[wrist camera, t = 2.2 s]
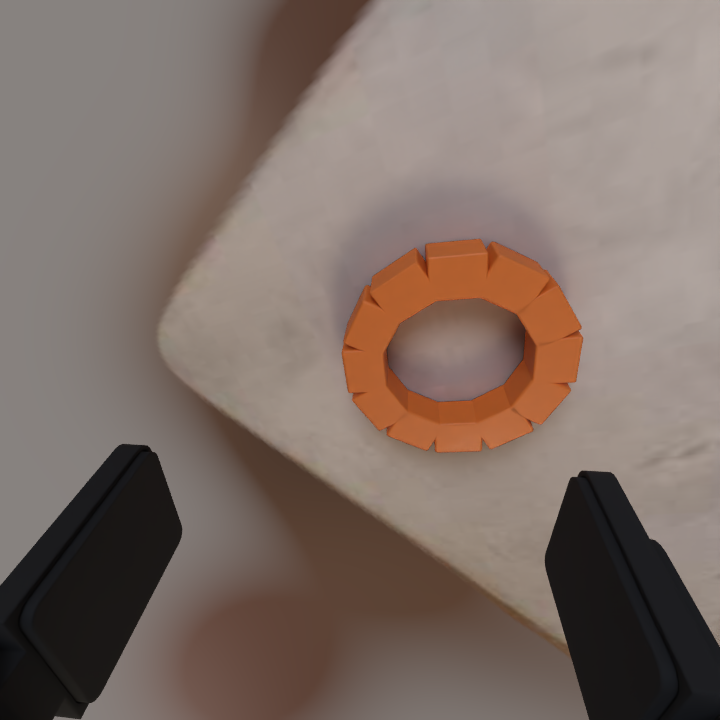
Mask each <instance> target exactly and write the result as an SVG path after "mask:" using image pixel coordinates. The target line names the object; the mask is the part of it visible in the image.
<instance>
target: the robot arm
mask: <svg viewBox="0 0 720 720" xmlns="http://www.w3.org/2000/svg"><path fill="white" fill-rule="evenodd" d="M181 535H182V525H181V522H180V520H179V517H178V514H177V511H176V508H175V505H174V502H173V499H172V496H171V493H170V491H169V488H168V485H167V482H166V479H165V476H164V473H163V470H162V467H161V465H160V461H159V459H158V456H157V454H156V453H155V452H152V451H151V449H150V447H148V446H145V445H130V444H122V445H119V446H118V447H117V448H116V449H115V450H114V451H113V452H112V453H111V455H110V456H109V457H108V458H107V459H106V461H105V462H104V463H103V464H102V465H101V467H100V468H99V469H98V470H97V471H96V473H95V474H94V475H93V476H92V477H91V479H90V480H89V481H88V482H87V483H86V484H85V486H84V487H83V488H82V489H81V490H80V492H79V493H78V494H77V495H76V496H75V498H74V499H73V500H72V501H71V502H70V503H69V505H68V506H67V507H66V508H65V509H64V511H63V512H62V513H61V514H60V515H59V517H58V518H57V519H56V520H55V521H54V523H53V524H52V525H51V526H50V527H49V528H48V530H47V531H46V532H45V533H44V534H43V536H42V537H41V538H40V539H39V540H38V541H37V543H36V544H35V545H34V546H33V547H32V549H31V550H30V551H29V552H28V553H27V555H26V556H25V557H24V558H23V559H22V560H21V562H20V563H19V564H18V565H17V566H16V568H15V569H14V570H13V571H12V572H11V574H10V575H9V576H8V577H7V578H6V580H5V581H4V582H3V583H2V584H1V585H0V720H53V718H54V716H58V717H67V718H75V719H81V718H82V716H83V714H84V712H85V710H86V708H87V706H88V704H89V703H92V702H94V701H95V700H96V699H97V698H98V697H99V695H100V694H101V692H102V690H103V689H104V687H105V685H106V683H107V681H108V679H109V677H110V675H111V673H112V671H113V669H114V667H115V666H116V664H117V662H118V660H119V658H120V656H121V654H122V652H123V650H124V648H125V646H126V644H127V643H128V641H129V639H130V637H131V635H132V633H133V631H134V629H135V627H136V625H137V623H138V621H139V619H140V617H141V616H142V613H143V612H144V610H145V608H146V606H147V604H148V602H149V600H150V598H151V596H152V594H153V592H154V590H155V589H156V587H157V585H158V583H159V581H160V579H161V577H162V575H163V573H164V571H165V569H166V567H167V565H168V563H169V562H170V560H171V558H172V556H173V554H174V552H175V550H176V548H177V546H178V544H179V542H180V539H181ZM545 567H546V572H547V575H548V579H549V582H550V586H551V589H552V593H553V596H554V600H555V603H556V606H557V610H558V613H559V617H560V620H561V624H562V627H563V631H564V634H565V638H566V641H567V644H568V648H569V651H570V655H571V658H572V662H573V665H574V668H575V672H576V675H577V679H578V682H579V686H580V689H581V692H582V696H583V700H584V703H585V706H586V710H587V713H588V717H589V720H720V647H719V645H718V643H717V642H716V640H715V638H714V636H713V635H712V633H711V631H710V629H709V627H708V626H707V624H706V622H705V620H704V619H703V617H702V615H701V613H700V612H699V610H698V608H697V606H696V605H695V603H694V601H693V599H692V597H691V596H690V594H689V592H688V590H687V589H686V587H685V585H684V583H683V582H682V580H681V578H680V576H679V575H678V573H677V571H676V569H675V567H674V566H673V564H672V562H671V560H670V559H669V557H668V555H667V553H666V552H665V550H664V549H663V548H662V546H661V545H660V544H659V543H658V542H656V541H655V540H652V539H649V537H648V535H647V533H646V532H645V530H644V528H643V526H642V524H641V522H640V521H639V519H638V517H637V515H636V513H635V511H634V510H633V508H632V506H631V504H630V502H629V500H628V499H627V497H626V495H625V493H624V491H623V489H622V488H621V486H620V484H619V482H618V480H617V478H616V477H615V476H614V474H612V473H611V472H598V471H581V472H580V473H579V475H578V477H572V478H570V481H569V483H568V486H567V489H566V493H565V496H564V499H563V502H562V505H561V508H560V511H559V514H558V517H557V520H556V523H555V526H554V529H553V532H552V535H551V538H550V541H549V544H548V547H547V551H546V554H545Z"/></svg>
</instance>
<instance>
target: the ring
mask: <svg viewBox="0 0 720 720" xmlns="http://www.w3.org/2000/svg"><path fill="white" fill-rule="evenodd" d="M425 252H426V261H425V260H424V259H423V257H422V256H421V254H420V253H419V251H418V250H417V249H416V248H414V249H412V250H411V251H410V252H408V253H407V254H405V255H404V256H402V257H401V258H399V259H398V260H396V261H395V262H393V263H392V264H390V265H389V266H387V267H386V268H384V269H383V270H381V271H380V272H379V273H377V274H376V275H374V276H373V277H372V283H371V286H369V285H366V286H365V287H364V289H363V292H362V294H361V296H360V298H359V300H358V302H357V304H356V307H355V309H354V311H353V313H352V315H351V317H350V320H349V322H348V324H347V328H346V332H345V336H344V340H343V341H344V345H343V349H342V358H343V364H344V370H345V376H346V382H347V388H348V392H349V393H353V398H352V401H353V402H354V403H355V404H356V405H357V407H358V408H359V409H360V410H361V411H362V412H363V413H364V414H365V415H366V416H367V418H368V419H369V420H370V421H371V422H372V423H373V424H374V425H375V426H376V428H377V429H378V430H379V431H381V430H383V429H385V428H387V436H389V437H392V438H394V439H397V440H400V441H402V442H405V443H407V444H410V445H412V446H415V447H418V448H420V449H423V450H425V451H427V450H428V449H429V448H430V446H431V445H432V443H433V442H434V443H435V451H436V452H437V453H438V452H474V451H481V450H482V439H483V441H484V442H485V443H486V445H487V446H488V447H489V448H490V449H493V448H495V447H498V446H500V445H502V444H505V443H507V442H509V441H511V440H514V439H516V438H518V437H521V436H523V435H525V434H527V433H530V432H532V431H533V427H532V424H531V422H530V421H533V422H535V423H538V424H542V423H543V422H544V421H545V420H546V419H547V418H548V417H549V415H550V414H551V413H552V412H553V411H554V410H555V409H556V407H557V406H558V405H559V404H560V403H561V402H562V401H563V399H564V398H565V397H566V396H567V395H568V394H569V393H570V391H571V389H570V387H569V385H568V384H567V383H571V382H576V378H577V372H578V366H579V360H580V354H581V348H582V342H583V337H582V335H581V334H580V332H579V331H578V330H580V329H581V325H580V323H579V321H578V319H577V317H576V316H575V314H574V312H573V310H572V308H571V306H570V305H569V303H568V301H567V299H566V297H565V296H564V294H563V292H562V290H561V288H560V287H559V285H558V284H557V283H556V281H555V280H554V279H553V278H552V276H551V275H550V274H549V273H548V271H547V270H543V269H542V268H541V266H540V265H539V264H538V263H537V262H536V261H534V260H532V259H530V258H527V257H525V256H523V255H521V254H519V253H517V252H515V251H513V250H510V249H508V248H506V247H504V246H502V245H500V244H498V243H496V242H491V243H490V244H489V246H488V247H487V249H486V248H485V246H484V244H483V242H482V240H481V239H473V240H462V241H452V242H441V243H430V244H426V245H425ZM472 298H482V299H484V300H486V301H488V302H490V303H493V304H495V305H497V306H499V307H502V308H504V309H506V310H508V311H510V312H513V313H515V314H517V316H518V318H519V319H520V321H521V322H522V324H523V326H524V327H525V329H526V333H525V345H524V357H523V360H522V361H521V363H520V364H519V365H518V367H517V368H516V369H515V371H514V372H513V373H512V374H511V376H510V377H509V378H508V380H507V381H506V382H505V384H504V385H502V386H500V387H498V388H496V389H494V390H492V391H490V392H488V393H486V394H484V395H481V396H479V397H477V398H475V399H473V400H471V401H448V402H436V401H434V400H432V399H429V398H427V397H424V396H422V395H419V394H417V393H414V392H412V391H409V390H407V388H406V387H405V386H404V385H403V384H402V382H401V381H400V380H399V379H398V377H397V376H396V375H395V374H394V373H393V371H392V370H391V369H390V368H389V366H388V358H387V347H388V345H389V343H390V341H391V339H392V338H393V336H394V334H395V332H396V330H397V328H398V326H399V325H400V323H401V322H403V321H404V320H406V319H408V318H409V317H411V316H413V315H414V314H416V313H418V312H419V311H421V310H423V309H424V308H426V307H427V306H429V305H431V304H432V303H434V302H436V301H445V300H459V299H472Z"/></svg>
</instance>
